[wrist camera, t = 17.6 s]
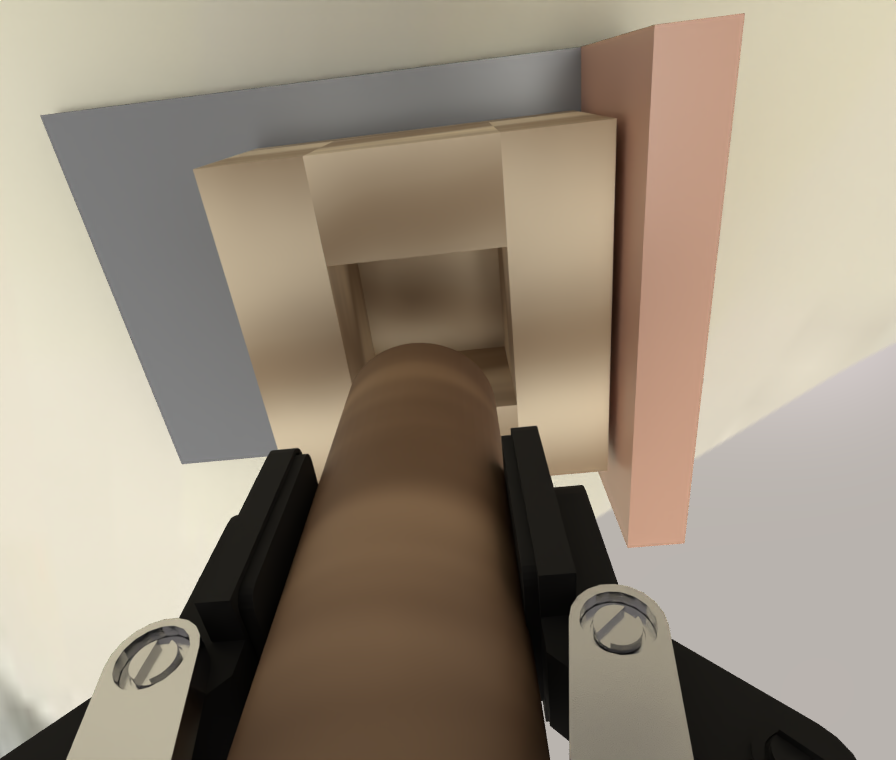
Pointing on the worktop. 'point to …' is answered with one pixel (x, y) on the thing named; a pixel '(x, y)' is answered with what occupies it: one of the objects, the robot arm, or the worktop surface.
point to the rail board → (416, 107)
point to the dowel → (403, 586)
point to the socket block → (428, 269)
